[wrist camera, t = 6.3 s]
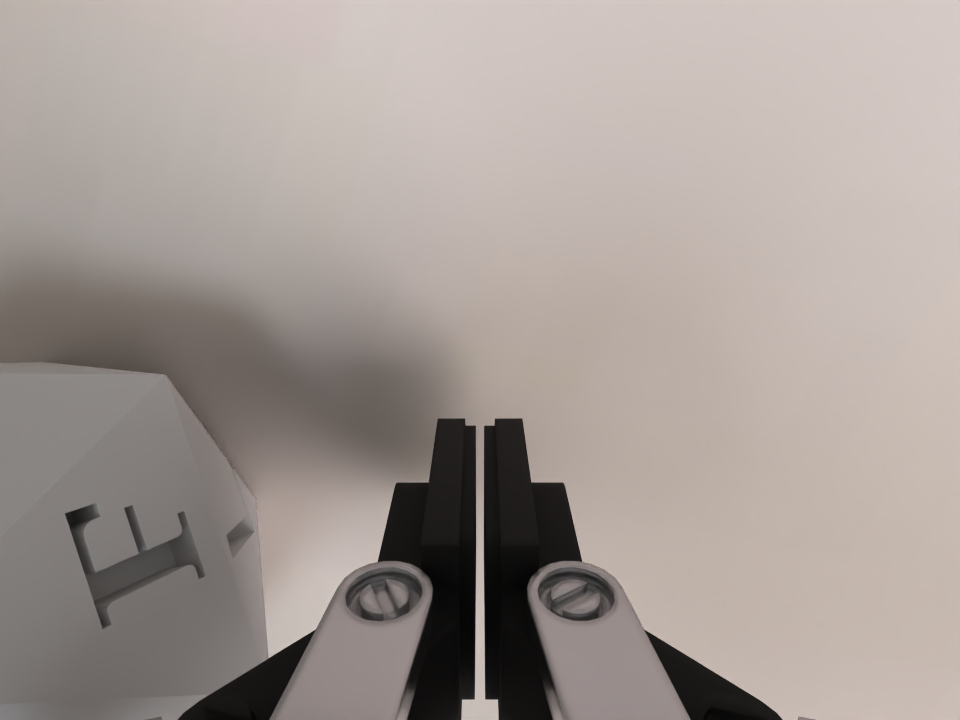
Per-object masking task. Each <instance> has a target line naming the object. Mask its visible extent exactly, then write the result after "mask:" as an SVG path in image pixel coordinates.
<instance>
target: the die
mask: <svg viewBox="0 0 960 720" xmlns="http://www.w3.org/2000/svg"><path fill="white" fill-rule="evenodd" d="M267 659H269V658H268V646H267V633H266V620H265V608H264V595H263V583H262V570H261V557H260V545H259V532H258V520H257V507H256V498H255V497H254V496H253V494H252V493H251V491H250V490H249V489H248V487H247V486H246V485H245V483H244V482H243V480H242V479H241V478H240V476H239V475H238V474H237V472H236V471H235V469H234V468H233V467H231V466H230V465H229V462H228V460H227V458H226V457H225V456H224V454H223V453H222V452H221V450H220V449H219V447H218V446H217V445H216V443H215V442H214V441H213V439H212V438H211V436H210V435H209V434H208V432H207V431H206V430H205V428H204V427H203V425H202V424H201V423H200V421H199V420H198V419H197V417H196V416H195V414H194V413H193V412H192V410H191V409H190V408H189V406H188V405H187V403H186V402H185V401H184V399H183V398H182V397H181V395H180V394H179V392H178V391H177V390H176V388H175V387H174V386H173V384H172V383H171V381H170V380H169V379H168V377H167V376H166V375H165V374H155V373H146V372H136V371H126V370H117V369H107V368H98V367H88V366H78V365H69V364H59V363H50V362H13V363H0V720H146V719H151V718H156V717H162V720H178V719H179V717H180V716H181V715H182V714H183V713H184V712H185V711H187V710H188V709H189V708H191V707H192V706H193V705H195V704H196V703H197V702H199V701H200V700H202V699H203V698H205V697H206V696H208V695H210V694H211V693H213V692H215V691H216V690H218V689H220V688H221V687H223V686H224V685H226V684H228V683H229V682H231V681H233V680H234V679H236V678H238V677H239V676H241V675H242V674H244V673H246V672H247V671H249V670H251V669H252V668H254V667H256V666H257V665H259V664H260V663H262V662H264V661H265V660H267Z"/></svg>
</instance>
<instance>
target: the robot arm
mask: <svg viewBox="0 0 960 720" xmlns="http://www.w3.org/2000/svg"><path fill="white" fill-rule="evenodd" d="M475 604H476V426H465V419H438V421H437V428H436V435H435V442H434V449H433V457H432V464H431V471H430V478H429V483H396V486H395V489H394V493H393V498H392V502H391V506H390V511H389V515H388V520H387V524H386V528H385V533H384V537H383V541H382V546H381V550H380V555H379V559H378V562H376V563H371V564H368V565H365V566H363V567H361V568H359V569H356V570H355V571H353V572H352V573H351V574H349V575H348V576H347V577H345V578H344V580H343V581H342V582H341V584H340V585H339V586H338V588H337V590H336V592H335V594H334V596H333V598H332V599H331V601H330V603H329V605H328V607H327V609H326V611H325V613H324V615H323V617H322V619H321V621H320V623H319V625H318V627H317V629H316V630H314V631H313V632H311V633H309V634H308V635H306V636H305V637H303V638H301V639H300V640H298V641H296V642H295V643H293V644H292V645H290V646H288V647H287V648H285V649H283V650H282V651H280V652H278V653H277V654H275V655H274V656H272V657H270V658H269V659H267V660H265V661H264V662H262V663H260V664H259V665H257V666H256V667H254V668H252V669H251V670H249V671H247V672H246V673H244V674H242V675H241V676H239V677H238V678H236V679H234V680H233V681H231V682H229V683H228V684H226V685H224V686H223V687H221V688H220V689H218V690H216V691H215V692H213V693H211V694H210V695H208V696H206V697H205V698H203V699H202V700H200V701H199V702H197V703H196V704H195V705H193V706H192V707H191V708H189V709H188V710H187V711H185V712H184V713H183V714H182V715H181V716H180V717H179V719H178V720H461V709H462V699H475ZM484 605H485V699H498V709H499V720H782V719H781V717H780V716H779V715H778V714H777V713H776V712H775V711H773V710H772V709H771V708H769V707H768V706H767V705H765V704H764V703H763V702H761V701H760V700H758V699H757V698H755V697H754V696H752V695H750V694H749V693H747V692H745V691H744V690H742V689H740V688H739V687H737V686H736V685H734V684H732V683H731V682H729V681H727V680H726V679H724V678H722V677H721V676H719V675H718V674H716V673H714V672H713V671H711V670H709V669H708V668H706V667H704V666H703V665H701V664H700V663H698V662H696V661H695V660H693V659H691V658H690V657H688V656H686V655H685V654H683V653H682V652H680V651H678V650H677V649H675V648H673V647H672V646H670V645H668V644H667V643H665V642H664V641H662V640H660V639H659V638H657V637H655V636H654V635H652V634H651V633H649V632H647V631H646V630H644V629H643V627H642V625H641V623H640V621H639V619H638V617H637V615H636V613H635V611H634V609H633V607H632V605H631V603H630V601H629V599H628V598H627V596H626V594H625V592H624V590H623V588H622V586H621V585H620V584H619V582H618V581H617V580H616V578H615V577H613V576H612V575H611V574H609V573H608V572H607V571H605V570H604V569H601V568H599V567H597V566H595V565H592V564H589V563H584V562H582V559H581V555H580V550H579V546H578V541H577V537H576V533H575V528H574V524H573V520H572V515H571V511H570V506H569V502H568V498H567V493H566V489H565V486H564V483H531V478H530V471H529V464H528V457H527V449H526V442H525V435H524V428H523V421H522V419H495V426H484ZM146 720H162V717H156V718H151V719H146ZM798 720H814V719H809V718H804V717H798Z"/></svg>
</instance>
